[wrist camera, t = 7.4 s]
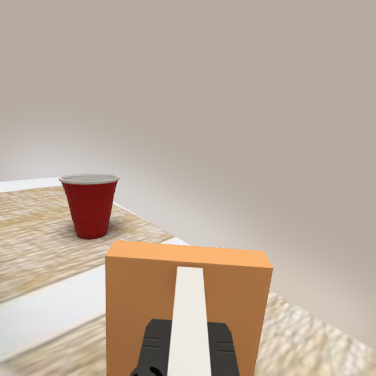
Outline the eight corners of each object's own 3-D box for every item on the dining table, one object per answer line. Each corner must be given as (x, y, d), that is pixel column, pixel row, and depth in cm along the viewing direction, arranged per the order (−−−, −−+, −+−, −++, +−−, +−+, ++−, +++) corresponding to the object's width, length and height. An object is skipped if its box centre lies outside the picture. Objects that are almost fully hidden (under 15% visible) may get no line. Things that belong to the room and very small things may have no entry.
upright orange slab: (245, 420, 18) (272, 267, 15) (107, 411, 18) (105, 255, 15) (239, 391, 20) (263, 251, 17) (115, 383, 20) (115, 240, 17)
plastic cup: (111, 219, 58) (111, 168, 55) (126, 238, 49) (127, 179, 46) (59, 226, 52) (55, 170, 49) (66, 250, 43) (62, 183, 40)
